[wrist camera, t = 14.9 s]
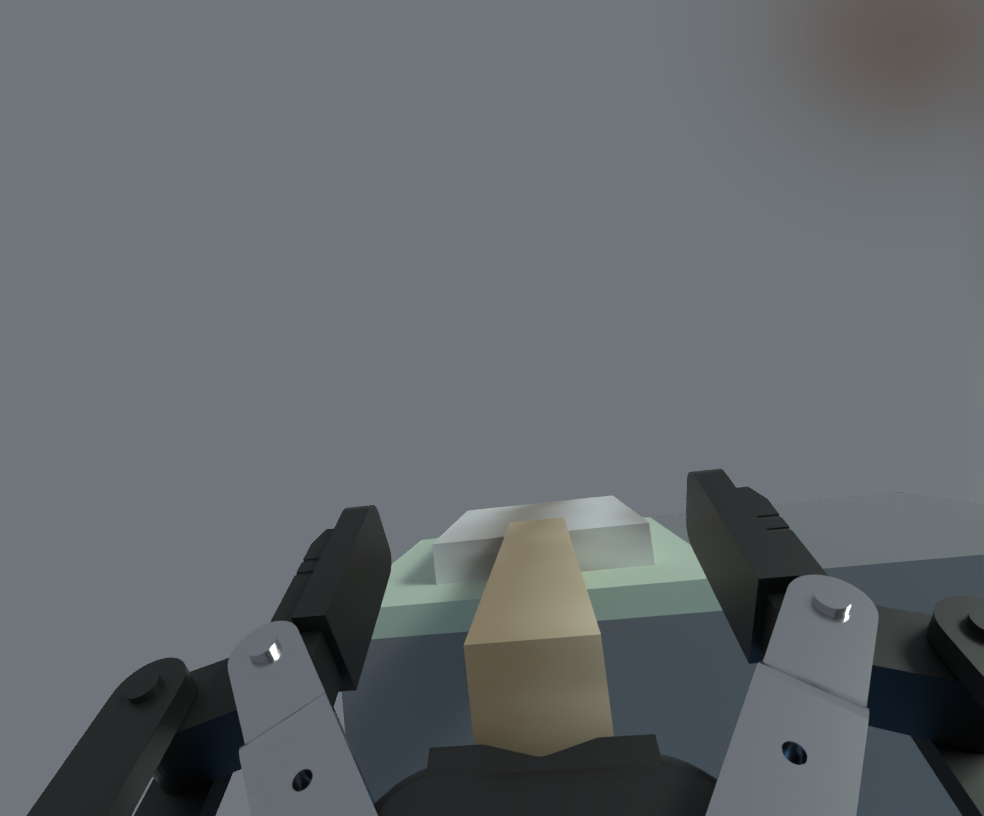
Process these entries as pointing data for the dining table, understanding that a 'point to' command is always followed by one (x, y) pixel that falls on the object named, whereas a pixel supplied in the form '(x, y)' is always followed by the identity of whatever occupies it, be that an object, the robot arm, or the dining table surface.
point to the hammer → (539, 616)
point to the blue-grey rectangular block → (668, 643)
